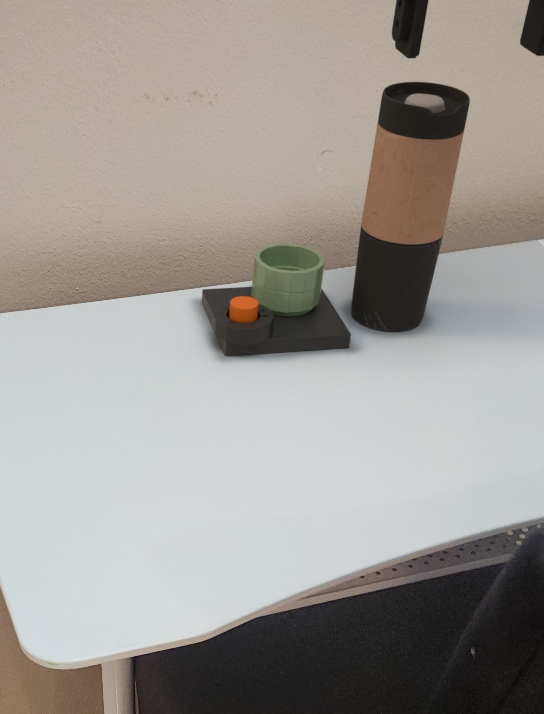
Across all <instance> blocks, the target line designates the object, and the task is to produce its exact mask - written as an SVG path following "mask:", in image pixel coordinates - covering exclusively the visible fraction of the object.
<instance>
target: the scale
mask: <svg viewBox="0 0 544 714" xmlns="http://www.w3.org/2000/svg"><path fill="white" fill-rule="evenodd" d="M251 292H252V286H239V287H237V286H236V287H220V288H219V287H217V288H204V289H202V291H201V304H202V306H203V309H204V311H205V313H206V315H207V317H208V320H209V322H210V324H211V329H212V332H213V334H214V336H215V338H217V340H218V343H219V345H220V347H221V350H222V352H223V354H224V356H225V357H229V356H243V355H260V354H263V355H264V354H276V353H292V352H307V351H309V352H310V351H322V350H323V351H324V350H338V349H349V348H350V346H351V345H350V344H351V338H352V333H351V332H350V331H349V329H348V327H347V326H346V324H345V322H344V321H343V319H342V318H341V316H340V315H339V313H338V311H337V310H336V308H335V307H334V305H333V303H332V302H331V300H330V299H329V297H328V296H327V294H326V293H325V291H324V289H323V287H322V288H321V296H320V301H319V304H318V305H316V306H315V307H314V308H313V309H312V310H311V311H310V312H308V313H306V314H303V315H299V316H278V315H273V313H272V312H271V310H270V309H269V308H267V307H265V306H263V305H261V304H259V305H258V317H257V320H256V321H254V322H247V323H241V322H236V321H233V320H231V319H230V318H229V313H230V301H231V300H232V299H233V298H235V297H239V296H247V297H252V296H251Z"/></svg>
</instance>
